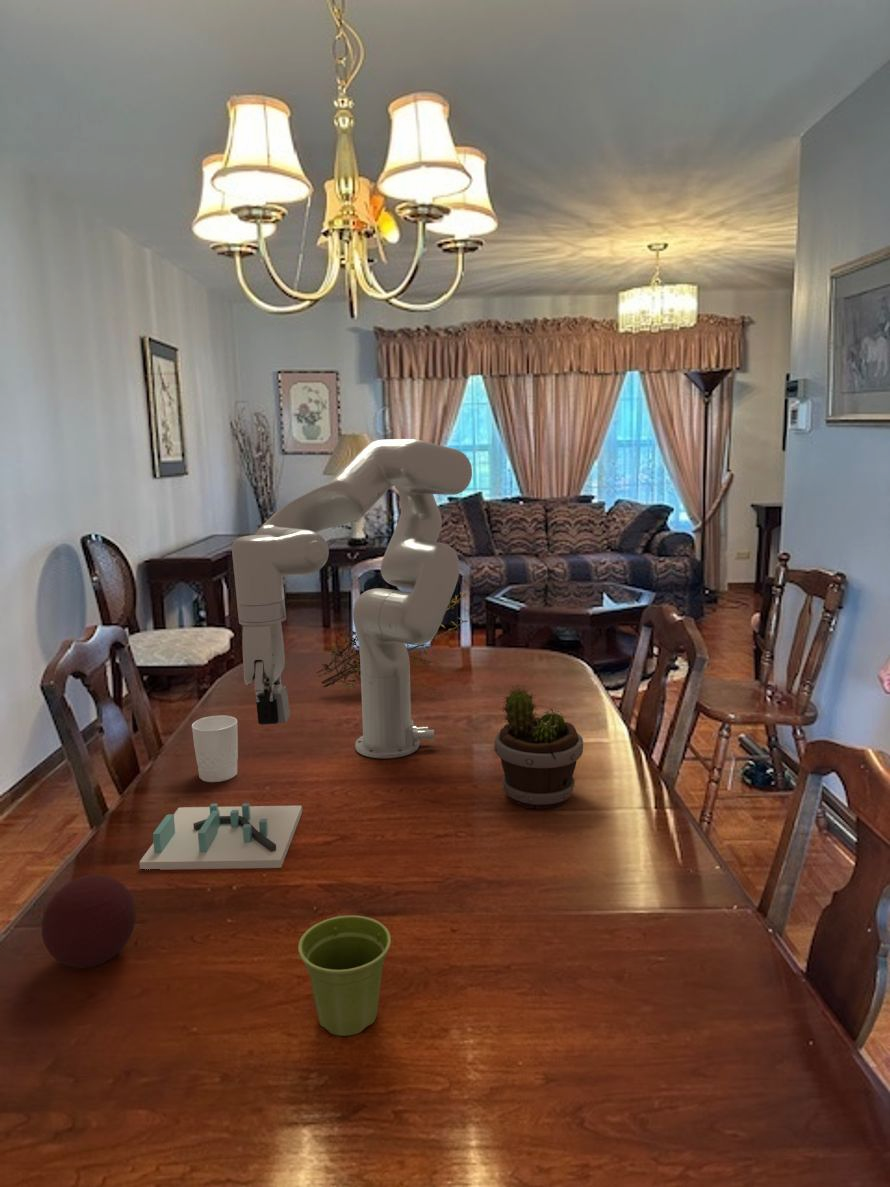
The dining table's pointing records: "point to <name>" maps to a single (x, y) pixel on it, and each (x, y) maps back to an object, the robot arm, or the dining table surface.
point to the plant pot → (345, 970)
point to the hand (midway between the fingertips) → (271, 716)
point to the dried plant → (359, 653)
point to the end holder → (168, 830)
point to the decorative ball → (88, 921)
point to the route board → (226, 841)
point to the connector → (281, 702)
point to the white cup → (216, 747)
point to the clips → (235, 821)
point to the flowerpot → (536, 753)
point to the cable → (242, 821)
